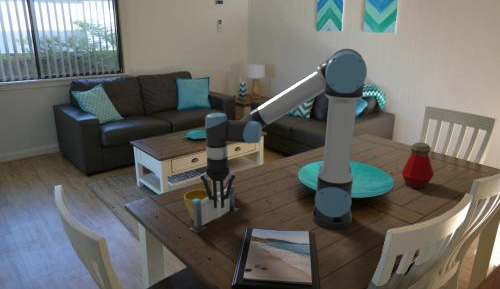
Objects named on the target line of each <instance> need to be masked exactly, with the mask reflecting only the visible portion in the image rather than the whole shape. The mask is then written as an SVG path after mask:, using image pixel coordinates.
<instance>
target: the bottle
mask: <svg viewBox="0 0 500 289" xmlns="http://www.w3.org/2000/svg"><path fill="white" fill-rule="evenodd" d="M410 150H411V154H410V155H409V156H408V159H407V160H406V162H405V164H404V166H403V168H402V171H401V174H402V178H403V180H404V182H405V185H406V187H408V186H409V187H408V188H410V187H412V188H411V189H414V188H422V189H424V188H423V187H425V188H426V187H427V185H428V184H429V182H430V181H431V179H433V177H434V175H435V174H434V170H433V167H432V163H431V160H430V156H429V153H430V152H431V150H432V148H431V146H430V145H429V144H428V143H426V142H421V141H419V142H418V141H417V142H414V144H412V145H411V146H410Z"/></svg>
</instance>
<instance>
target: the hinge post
mask: <svg viewBox="0 0 500 289" xmlns="http://www.w3.org/2000/svg"><path fill="white" fill-rule="evenodd" d="M229 207H230V211H228V212H227V213H230V214H231V215H233V214H235V213H236V212H238V211H240V208H238V207H235V191H234V192H230V194H229Z"/></svg>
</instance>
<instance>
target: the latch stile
mask: <svg viewBox="0 0 500 289" xmlns="http://www.w3.org/2000/svg"><path fill="white" fill-rule="evenodd" d="M200 202H201V200H200V199H198V198H195V199H193V200H192V203H193V220H192V221H193V225H192V226H191V227H189V228H188V229H189V231H193V232H194V233H197V234H199V233H200V232H202V231H204V230H206V229H207V227H206V226H205V225H201V205H200Z"/></svg>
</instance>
